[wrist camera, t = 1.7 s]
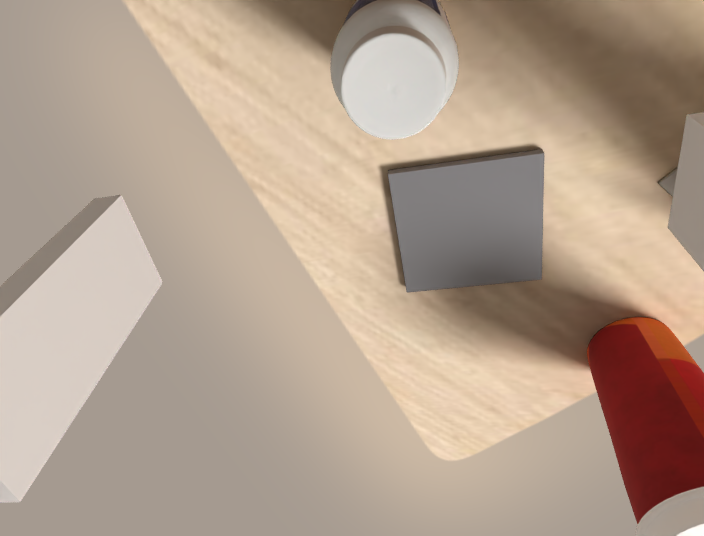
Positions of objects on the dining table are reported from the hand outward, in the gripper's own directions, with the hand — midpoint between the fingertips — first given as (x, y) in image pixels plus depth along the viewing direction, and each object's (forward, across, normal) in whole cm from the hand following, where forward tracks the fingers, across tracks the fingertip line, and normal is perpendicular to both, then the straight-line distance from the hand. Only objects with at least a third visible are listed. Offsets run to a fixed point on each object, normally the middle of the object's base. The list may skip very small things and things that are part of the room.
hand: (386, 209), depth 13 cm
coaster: (+19, +3, -12) cm, 22 cm away
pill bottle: (+19, 0, 0) cm, 19 cm away
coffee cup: (+19, +14, -24) cm, 33 cm away
